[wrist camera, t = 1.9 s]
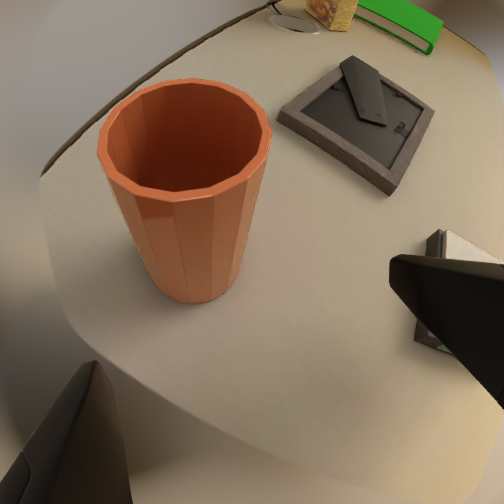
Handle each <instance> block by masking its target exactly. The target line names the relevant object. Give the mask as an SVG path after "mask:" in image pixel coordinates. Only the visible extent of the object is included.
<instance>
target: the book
mask: <svg viewBox="0 0 504 504" xmlns="http://www.w3.org/2000/svg"><path fill="white" fill-rule="evenodd" d="M354 16H356V17H358V18H361V19H363V20H365V21H367V22H369V23H371V24H373V25H375V26H377V27H379V28H381V29H383V30H385V31H386V32H388V33H390V34H392V35H394V36H396V37H397V38H399V39H401V40H403V41H405V42H406V43H408V44H410V45H411V46H413V47H415V48H416V49H418V50H420V51H421V52H423V53H424V54H426V55H427V54H430V53H431V51H432V50H433V48H434V45H435V43H436V41H437V39H438V36H439V34H440V32H441V29H442V27H443V25H444V24H443V22H442V21H441V20H439V19H438V18H436V17H435V16H433V15H431V14H429V13H428V12H426V11H424V10H423V9H421V8H419V7H417V6H415V5H414V4H412V3H410V2H408V1H406V0H359V1H358V4H357V7H356V10H355V12H354Z"/></svg>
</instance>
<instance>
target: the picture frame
mask: <svg viewBox="0 0 504 504" xmlns="http://www.w3.org/2000/svg"><path fill="white" fill-rule="evenodd" d="M434 112H435V111H434V110H433V109H432V108H430V107H429V106H427V105H426V104H425V103H423V102H422V101H420V100H419V99H418V98H416V97H415V96H413V95H412V94H410V93H409V92H407V91H406V90H404V89H403V88H401V87H400V86H398V85H397V84H395V83H394V82H392V81H391V80H389V79H387V78H386V77H384V76H383V75H381V74H379V71H377V70H376V69H374V68H373V67H371V66H369V65H368V64H366V63H365V62H363V61H361V60H360V59H358V58H356V57H355V56H353V55H352V56H350V57H349V58H347V59H346V60H344V61H343V62H341V63H340V66H338V67H337V68H335V69H334V70H333V71H331V72H330V73H328V74H327V75H326V76H324V77H323V78H321V79H320V80H319V81H317V82H316V83H314V84H313V85H312V86H310V87H309V88H308V89H306V90H305V91H304V92H302V93H301V94H300V95H298V96H297V97H296V98H294V99H293V100H292V101H290V102H289V103H288V104H287V105H285V106H284V107H283V108H281V109H280V111H279V115H278V119H277V121H278V122H280V123H282V124H283V125H285V126H287V127H288V128H290V129H292V130H293V131H295V132H296V133H298V134H300V135H301V136H303V137H305V138H306V139H308V140H309V141H311V142H312V143H314V144H316V145H317V146H319V147H320V148H322V149H323V150H325V151H326V152H328V153H329V154H331V155H332V156H334V157H335V158H337V159H338V160H340V161H341V162H343V163H344V164H346V165H347V166H349V167H350V168H351V169H353V170H354V171H356V172H357V173H359V174H360V175H361V176H363V177H364V178H366V179H367V180H368V181H370V182H371V183H372V184H374V185H375V186H376V187H378V188H379V189H381V190H382V191H383V192H385V193H386V194H387V195H389V196H390V195H391V194H392V193H393V192H394V191H395V189H396V188H397V187H398V185H399V183H400V181H401V179H402V177H403V175H404V174H405V172H406V170H407V168H408V166H409V164H410V162H411V160H412V158H413V156H414V154H415V152H416V150H417V148H418V146H419V144H420V142H421V140H422V138H423V136H424V134H425V132H426V129H427V127H428V125H429V123H430V121H431V119H432V117H433V114H434Z"/></svg>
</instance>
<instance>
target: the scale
mask: <svg viewBox="0 0 504 504" xmlns="http://www.w3.org/2000/svg"><path fill="white" fill-rule="evenodd" d="M426 256H427V257H437V258H448V259H458V260H468V261H478V262H488V263H497V264H504V263H503V262H502V261H500V260H498V259H497V258H495V257H493V256H492V255H490V254H488V253H487V252H485V251H483V250H482V249H480V248H478V247H477V246H475V245H473V244H471V243H470V242H468V241H466V240H464V239H463V238H461V237H459V236H457V235H455V234H454V233H452V232H450V231H448V230H446V231H445V232H444V231H442V230H440V229H438V230H437V231H436V232H435V233H434V234H432V235H431V236H430V237H429V238H428V239H427V252H426ZM414 341H417V342H420V343H423V344H425V345H428V346H431V347H434V348H437V349H439V350H442V351H445V352H448V353H451V352H450V351H449V350H448V349H447V348H446V347H445V346H444V345H443V344H442V343H441V342H440V341H439V340H438V339H437V338H436V337H435V336H434V335H433V334H432V333H431V332H430V331H429V330H428V329H427V328H426V327H425V326H424V325H423V324H422V323H421V322H420V321H419V320H418V321H417V326H416V332H415V337H414ZM451 354H452V353H451Z"/></svg>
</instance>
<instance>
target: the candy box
mask: <svg viewBox="0 0 504 504" xmlns="http://www.w3.org/2000/svg"><path fill="white" fill-rule="evenodd" d="M358 1H359V0H307V3H306V6H305V10H306V11H307V12H308V13H310V14H311V15H312V16H313V17H315V18H316V19H317V20H318V21H320V22H321V23H322V24H323V25H324V26H326V27H327V29H329V30H331V31H348V28H349V26H350V23H351V20H352V18H353V15H354V12H355V10H356V7H357V4H358Z"/></svg>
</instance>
